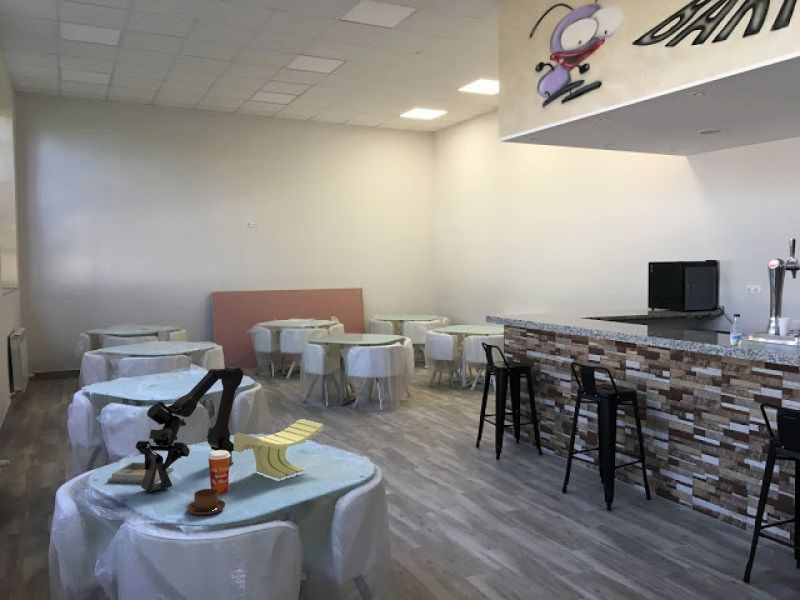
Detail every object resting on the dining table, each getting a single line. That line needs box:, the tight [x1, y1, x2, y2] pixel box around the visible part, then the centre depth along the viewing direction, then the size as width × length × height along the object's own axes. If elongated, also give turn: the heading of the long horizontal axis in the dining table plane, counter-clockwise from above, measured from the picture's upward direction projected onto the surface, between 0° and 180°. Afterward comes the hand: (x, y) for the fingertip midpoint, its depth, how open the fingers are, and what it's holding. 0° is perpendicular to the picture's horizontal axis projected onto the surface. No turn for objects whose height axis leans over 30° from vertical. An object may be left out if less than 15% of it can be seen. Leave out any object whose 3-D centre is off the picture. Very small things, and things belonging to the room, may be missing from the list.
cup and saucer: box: [186, 488, 226, 516], centre depth 218 cm, size 12×12×6 cm
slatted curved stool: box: [233, 418, 324, 479], centre depth 257 cm, size 30×16×18 cm, turn 136°
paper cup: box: [207, 450, 231, 496], centre depth 236 cm, size 8×8×14 cm
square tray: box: [106, 461, 174, 484], centre depth 253 cm, size 18×16×3 cm
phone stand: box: [140, 451, 173, 493], centre depth 238 cm, size 9×6×12 cm, turn 130°
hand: (154, 470), depth 236 cm, fingers closed on phone stand, 6 cm apart
